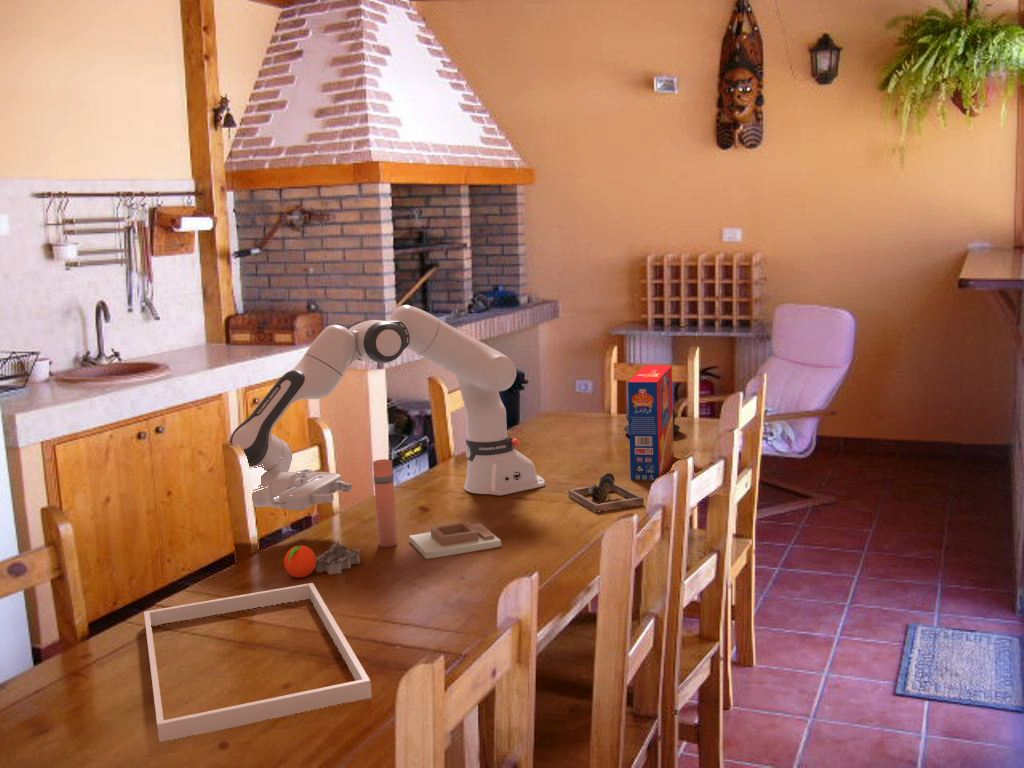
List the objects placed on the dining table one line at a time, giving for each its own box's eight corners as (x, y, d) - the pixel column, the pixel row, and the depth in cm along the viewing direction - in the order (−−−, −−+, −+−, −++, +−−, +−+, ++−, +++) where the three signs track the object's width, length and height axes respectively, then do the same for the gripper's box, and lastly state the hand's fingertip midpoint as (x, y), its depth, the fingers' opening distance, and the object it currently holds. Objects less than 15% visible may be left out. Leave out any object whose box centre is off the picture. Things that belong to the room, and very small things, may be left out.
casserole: (631, 425, 366) (630, 401, 364) (685, 426, 360) (684, 402, 359) (616, 442, 342) (615, 416, 341) (674, 443, 337) (673, 417, 335)
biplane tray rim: (313, 596, 218) (312, 582, 218) (371, 697, 172) (370, 680, 172) (145, 626, 207) (143, 611, 206) (159, 743, 161) (157, 724, 160)
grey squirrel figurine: (621, 499, 273) (621, 483, 282) (606, 478, 272) (606, 463, 280) (597, 514, 276) (597, 498, 284) (581, 493, 274) (582, 478, 282)
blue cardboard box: (659, 481, 293) (656, 382, 288) (630, 480, 295) (627, 381, 291) (673, 456, 319) (671, 365, 315) (647, 456, 322) (645, 365, 317)
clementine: (304, 585, 225) (301, 553, 224) (276, 582, 227) (273, 551, 226) (323, 572, 232) (321, 541, 231) (296, 570, 235) (293, 539, 234)
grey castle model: (340, 557, 243) (339, 540, 242) (366, 562, 239) (364, 544, 238) (308, 572, 234) (307, 554, 233) (334, 577, 230) (333, 559, 229)
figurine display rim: (614, 489, 286) (614, 482, 286) (643, 505, 271) (643, 497, 271) (568, 497, 282) (568, 489, 281) (595, 513, 266) (595, 505, 266)
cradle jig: (481, 530, 257) (480, 516, 256) (501, 546, 244) (500, 531, 243) (409, 541, 251) (408, 527, 250) (426, 559, 238) (425, 544, 237)
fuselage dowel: (394, 539, 253) (389, 458, 249) (399, 545, 249) (394, 462, 245) (376, 542, 251) (370, 460, 248) (381, 548, 247) (375, 465, 244)
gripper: (266, 489, 246) (319, 492, 241) (310, 467, 265) (359, 469, 260) (268, 515, 247) (321, 518, 243) (312, 491, 266) (361, 494, 262)
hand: (341, 492), depth 252 cm, fingers open, 8 cm apart
